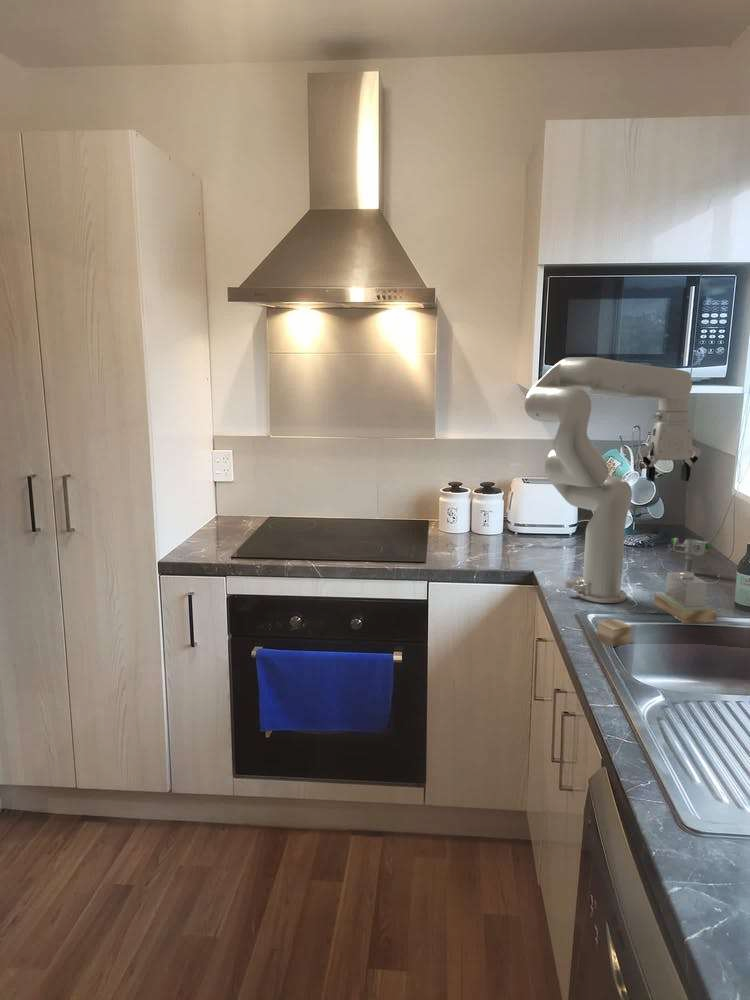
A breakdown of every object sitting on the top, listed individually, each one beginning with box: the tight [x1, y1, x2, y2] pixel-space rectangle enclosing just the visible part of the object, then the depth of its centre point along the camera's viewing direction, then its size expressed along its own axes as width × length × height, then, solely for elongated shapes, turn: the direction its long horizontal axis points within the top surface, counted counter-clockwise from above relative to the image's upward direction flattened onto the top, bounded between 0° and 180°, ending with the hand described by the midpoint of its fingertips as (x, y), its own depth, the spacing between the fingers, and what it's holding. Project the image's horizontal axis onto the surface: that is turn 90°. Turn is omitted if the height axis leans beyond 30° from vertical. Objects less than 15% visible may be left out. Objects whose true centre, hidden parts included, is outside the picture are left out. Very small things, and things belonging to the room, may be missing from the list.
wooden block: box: [653, 593, 718, 624], centre depth 174 cm, size 8×14×3 cm, turn 6°
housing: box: [665, 570, 708, 607], centre depth 173 cm, size 9×5×7 cm, turn 7°
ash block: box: [596, 618, 633, 648], centre depth 155 cm, size 5×5×4 cm
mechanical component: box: [671, 537, 711, 572], centre depth 206 cm, size 3×10×10 cm, turn 51°
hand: (667, 480), depth 195 cm, fingers open, 9 cm apart
